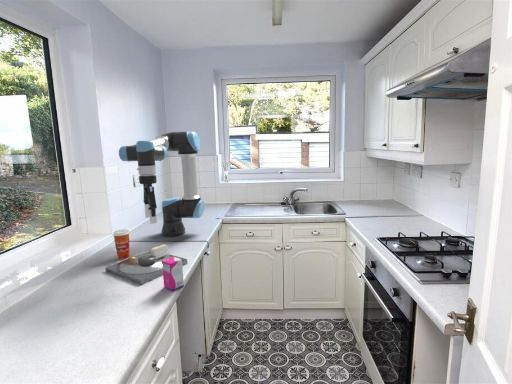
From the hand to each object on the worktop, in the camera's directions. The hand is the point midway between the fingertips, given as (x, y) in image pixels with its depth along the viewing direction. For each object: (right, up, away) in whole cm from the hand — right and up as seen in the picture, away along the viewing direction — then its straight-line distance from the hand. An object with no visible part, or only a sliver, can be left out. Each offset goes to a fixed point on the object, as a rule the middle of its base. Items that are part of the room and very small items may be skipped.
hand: (151, 220), depth 138 cm
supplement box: (+16, -25, -18) cm, 35 cm away
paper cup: (-19, -21, +15) cm, 32 cm away
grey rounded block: (0, -19, +4) cm, 20 cm away
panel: (-2, -22, +2) cm, 22 cm away
